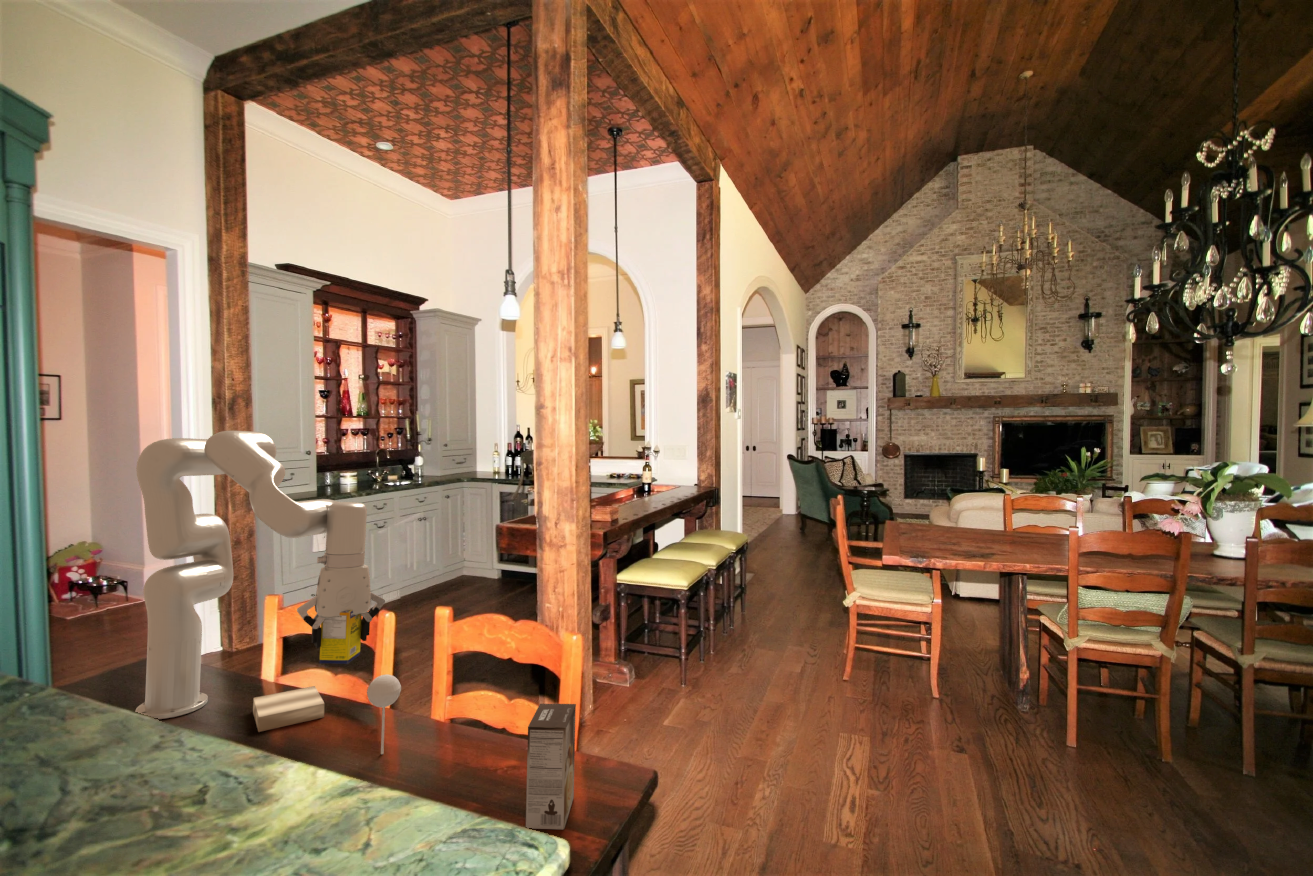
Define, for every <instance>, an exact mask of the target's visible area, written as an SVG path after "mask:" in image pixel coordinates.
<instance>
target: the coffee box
mask: <svg viewBox="0 0 1313 876" xmlns="http://www.w3.org/2000/svg"><path fill="white" fill-rule="evenodd" d="M576 706H577V704H576V703H539V705H538V707H537V709H536V711H535V712H534V714H533V717H532V718H531V720H530V722H529V724H528V726H527V750H526V751H527V753H526V754H527V755H526V756H527V758H526V794H525V795H526V797H525V799H526V800H525V804H526V805H525V828H526V827H527V828H526V829H529V828H532V830H534V829H535V830H537V829H538V830H565V828H566V825H567V821H568V818H569V814H570V811H571V807H572V805H573V801H574V796H575V791H574V790H575V755H576V752H575V749H576V746H575V745H576V712H577V711H576Z"/></svg>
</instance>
